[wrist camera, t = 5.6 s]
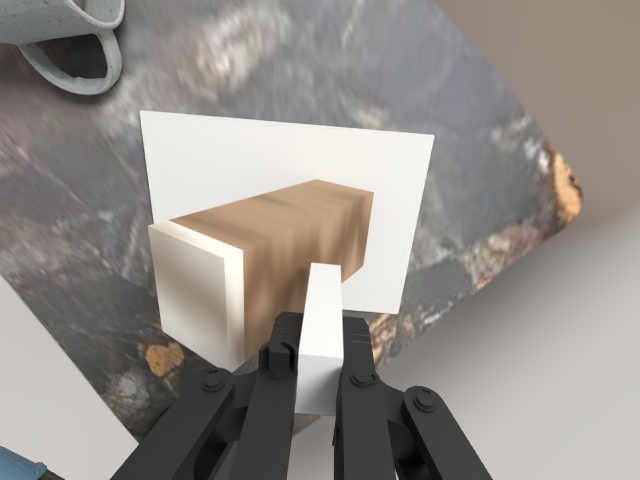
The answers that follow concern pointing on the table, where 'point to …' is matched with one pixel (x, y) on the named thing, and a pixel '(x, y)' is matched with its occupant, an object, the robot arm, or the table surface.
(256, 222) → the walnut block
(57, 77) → the ceramic mug
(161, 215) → the white mat
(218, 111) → the table surface
